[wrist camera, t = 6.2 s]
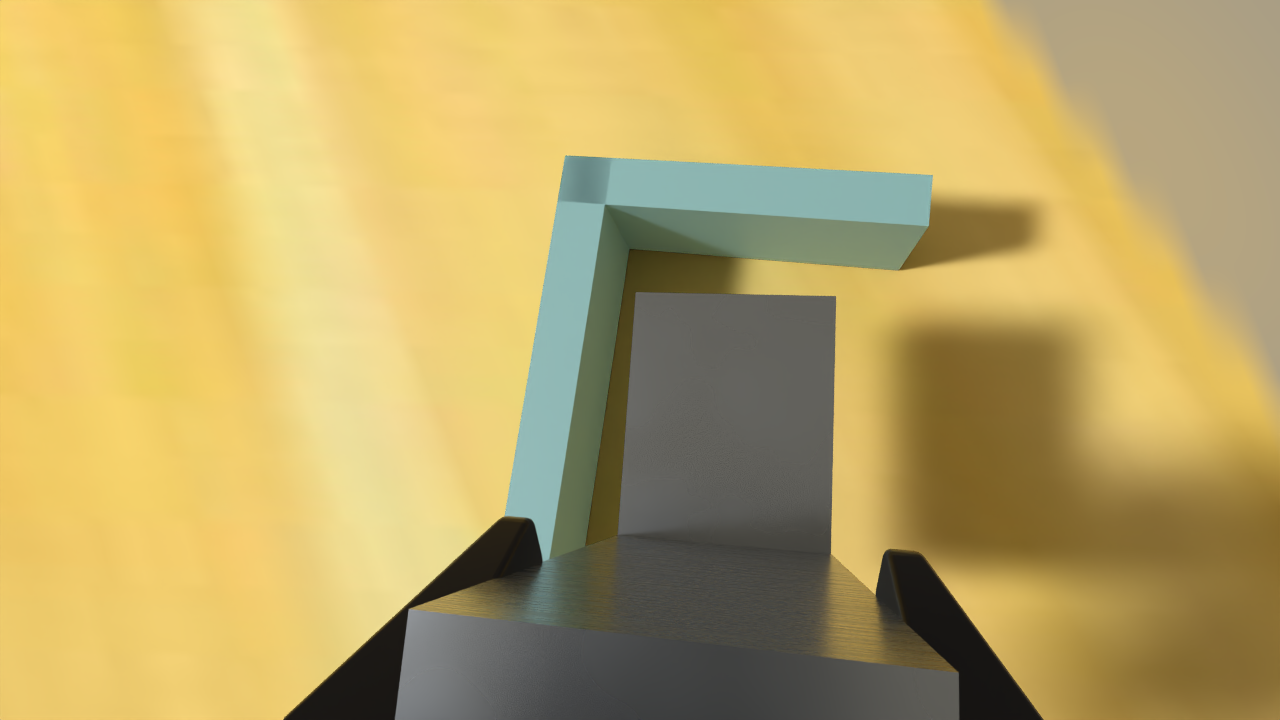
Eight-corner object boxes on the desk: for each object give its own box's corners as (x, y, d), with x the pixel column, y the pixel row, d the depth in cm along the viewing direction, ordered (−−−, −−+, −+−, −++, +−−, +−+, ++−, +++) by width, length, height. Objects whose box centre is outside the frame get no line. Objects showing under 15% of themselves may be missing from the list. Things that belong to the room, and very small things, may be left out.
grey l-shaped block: (823, 644, 14) (962, 976, 5) (619, 622, 15) (377, 864, 5) (830, 308, 16) (951, 19, 6) (642, 303, 16) (478, 43, 7)
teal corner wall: (861, 714, 20) (886, 770, 16) (525, 646, 22) (476, 681, 18) (902, 227, 22) (932, 175, 19) (595, 206, 24) (565, 155, 21)
